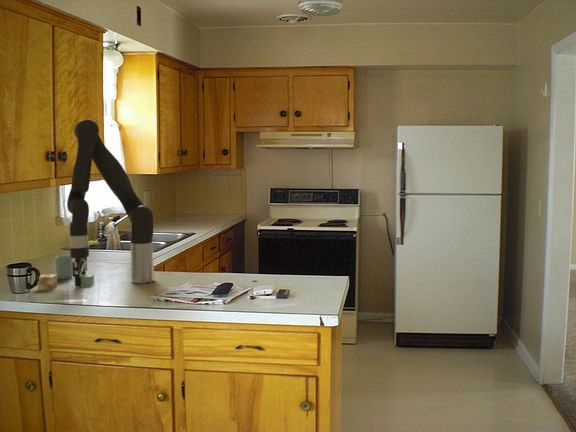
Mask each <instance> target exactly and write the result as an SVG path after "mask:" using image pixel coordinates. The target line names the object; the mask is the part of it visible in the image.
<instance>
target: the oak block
mask: <svg viewBox="0 0 576 432" xmlns="http://www.w3.org/2000/svg"><path fill="white" fill-rule="evenodd" d="M39 276H40V277H39ZM39 276H38V277H39V281H38V280H37V285H38V290H45V289H54V288H56V287H57V285H58V279H57V274H54V273H53V274H51V273H48V274H45V273H44V274H41V275H39Z"/></svg>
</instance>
